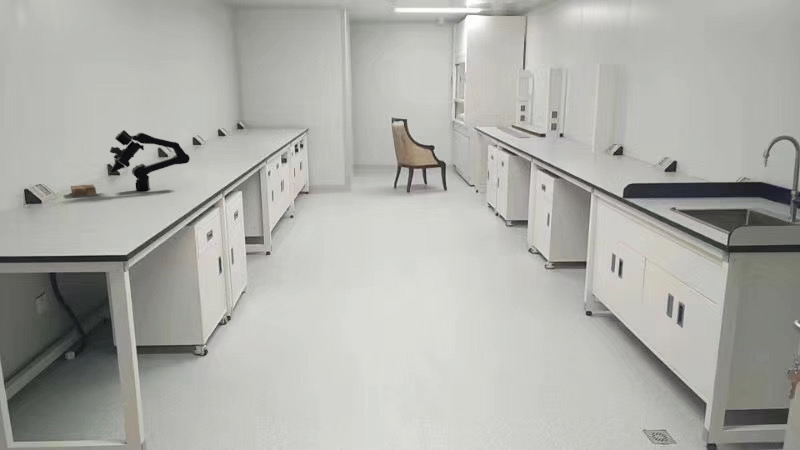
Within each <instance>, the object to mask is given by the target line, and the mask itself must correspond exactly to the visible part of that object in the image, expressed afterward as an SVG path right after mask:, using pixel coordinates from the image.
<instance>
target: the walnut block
mask: <svg viewBox="0 0 800 450" xmlns="http://www.w3.org/2000/svg"><path fill="white" fill-rule="evenodd" d="M70 191H71V192H70V193H72V194H73V196H87V195H95V196H96V195H97V188H96V186H95V185H94V184H82V185H81V184H79V185H70ZM87 197H88V196H87Z"/></svg>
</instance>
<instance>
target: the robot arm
mask: <svg viewBox="0 0 800 450" xmlns="http://www.w3.org/2000/svg"><path fill="white" fill-rule="evenodd" d="M114 139H115V140H116V141H118V143H120V144H121V145H122V146H126V147H125V148H122V149H121V148H120V147H118V146H116V147H114V146H111V148H110V150H109V153H112V154H114V155H113V158H114V159H113V160H114V164H113V165H112V168H111V169H110V173H115V172H117V171H119V170H121V169H124V168H125V167H126V168H129V167H130V166H131V162H130V161H131V160H132V158H134V157H135V155H136V154H137V152H138V151H140V150H142V151H144V150H145V147H144V146H145V145H157V146H161V147H166V148H170V149H172V150H173V152H174V153H175V155H173V156H172V157H170V158H167V159H165V160H161V161H158V162H155V163H151V164H149V165H145V164H144V163H140V164H139V165H135V166H134V167H133V168H132V170H131V174H132V175H133V176H134V177H135V178H136V180H135V181H136V182H135V192H148V191H150V190H151V187H150V176H149V174H150V173H152V172H155V171H160V170H162V169H165V168H167V167H171V166H175V165H184V164H188V163H189V162H190V156H189V154H188V153H186V152H185V151H184V149H182V147H181V146H180V144H179V142H176V141H170V140H166V139H163V138H157V137H154V136H151V135H149V134H147V133H144V132H139V133H137V134H136V135H130V134H129V133H128V132H127V131H126V130H122V131H120V133H117V135H116V136H115V138H114Z"/></svg>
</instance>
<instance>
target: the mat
mask: <svg viewBox="0 0 800 450" xmlns="http://www.w3.org/2000/svg"><path fill="white" fill-rule="evenodd" d="M69 195H70V196H71V198H86V197H87V198H88V197H95V196H96V195H87V196H73V194H72V192H69Z"/></svg>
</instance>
